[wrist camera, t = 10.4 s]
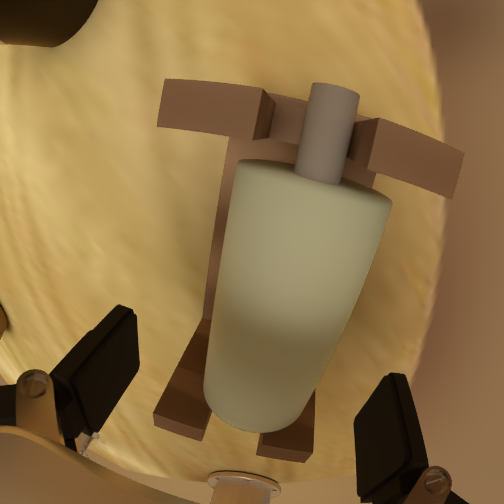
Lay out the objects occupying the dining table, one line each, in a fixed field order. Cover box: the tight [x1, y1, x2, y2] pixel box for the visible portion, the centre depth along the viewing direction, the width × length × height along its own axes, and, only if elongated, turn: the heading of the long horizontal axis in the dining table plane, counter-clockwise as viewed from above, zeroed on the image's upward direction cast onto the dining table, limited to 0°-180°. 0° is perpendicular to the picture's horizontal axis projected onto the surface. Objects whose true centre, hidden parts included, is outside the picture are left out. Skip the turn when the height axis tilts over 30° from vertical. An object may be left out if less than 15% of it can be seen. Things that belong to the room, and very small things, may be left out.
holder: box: [153, 79, 464, 463], centre depth 15 cm, size 19×9×11 cm, turn 169°
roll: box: [203, 83, 392, 433], centre depth 13 cm, size 19×6×6 cm
